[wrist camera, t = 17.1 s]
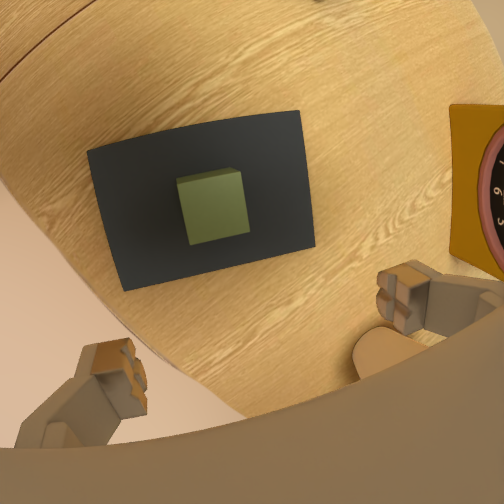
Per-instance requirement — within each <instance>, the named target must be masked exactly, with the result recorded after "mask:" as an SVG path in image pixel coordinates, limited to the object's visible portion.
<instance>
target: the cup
mask: <svg viewBox="0 0 504 504" xmlns="http://www.w3.org/2000/svg"><path fill="white" fill-rule="evenodd" d="M428 348H430V347H428V346H426V345H424V344H422V343H419V342H417V341H415V340H413V339H411V338H408V337H406V336H404V335H402V334H400V333H398V332H395V331H393V330H391V329H389V328H387V327H376V328H374V329H371V330H370V331H368V332H367V333H365V334H364V335H363V336H362V337H361V338H360V339H359V341H358V342H357V343H356V345H355V347H354V349H353V353H352V359H353V362H354V364H355V367H356V370H357V372H358V375H359V377H360V380H361V379H364V378H366V377H368V376H371V375H373V374H375V373H378V372H380V371H382V370H384V369H387V368H389V367H391V366H393V365H395V364H397V363H400V362H402V361H404V360H406V359H408V358H410V357H412V356H414V355H416V354H418V353H420V352H422V351H424V350H426V349H428Z"/></svg>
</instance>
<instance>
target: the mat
mask: <svg viewBox="0 0 504 504" xmlns="http://www.w3.org/2000/svg"><path fill="white" fill-rule="evenodd" d="M87 156H88V161H89V166H90V171H91V175H92V180H93V184H94V189H95V193H96V197H97V201H98V205H99V209H100V213H101V217H102V221H103V224H104V228H105V232H106V235H107V239H108V242H109V246H110V249H111V253H112V256H113V259H114V262H115V266H116V269H117V272H118V275H119V278H120V281H121V284H122V287H123V290H124V292H125V291H129V290H134V289H138V288H142V287H147V286H151V285H155V284H160V283H164V282H168V281H173V280H177V279H181V278H186V277H190V276H194V275H199V274H203V273H207V272H211V271H216V270H220V269H224V268H228V267H233V266H237V265H241V264H245V263H250V262H254V261H258V260H262V259H266V258H271V257H275V256H279V255H283V254H287V253H291V252H296V251H300V250H304V249H308V248H312V247H315V236H314V226H313V215H312V205H311V196H310V187H309V178H308V170H307V162H306V154H305V146H304V139H303V131H302V124H301V117H300V111H299V110H295V111H285V112H275V113H267V114H259V115H251V116H244V117H237V118H230V119H224V120H218V121H212V122H206V123H200V124H195V125H190V126H185V127H180V128H175V129H170V130H166V131H161V132H157V133H152V134H148V135H144V136H140V137H136V138H132V139H128V140H124V141H120V142H116V143H113V144H109V145H105V146H102V147H98V148H95V149H92V150H88V151H87ZM229 167H231V168H233V169H236V170H238V171H240V172H241V177H242V184H243V190H244V196H245V202H246V208H247V215H248V221H249V227H250V232H247V233H242V234H238V235H233V236H229V237H224V238H220V239H216V240H211V241H207V242H202V243H198V244H194V245H190V244H189V239H188V235H187V230H186V226H185V221H184V217H183V212H182V207H181V202H180V198H179V193H178V188H177V181H176V178H180V177H184V176H189V175H194V174H199V173H204V172H208V171H214V170H219V169H224V168H229Z"/></svg>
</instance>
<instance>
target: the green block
mask: <svg viewBox="0 0 504 504" xmlns="http://www.w3.org/2000/svg"><path fill="white" fill-rule="evenodd" d="M176 181H177V188H178V193H179V198H180V202H181V207H182V212H183V217H184V221H185V226H186V230H187V235H188V239H189V244H190V245H194V244H198V243H202V242H207V241H211V240H216V239H220V238H224V237H229V236H233V235H238V234H242V233H247V232H250V227H249V221H248V215H247V208H246V202H245V196H244V190H243V184H242V177H241V172H240V171H238V170H236V169H233V168H231V167H229V168H224V169H219V170H214V171H208V172H204V173H199V174H194V175H189V176H184V177H180V178H176Z"/></svg>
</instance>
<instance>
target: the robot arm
mask: <svg viewBox="0 0 504 504" xmlns="http://www.w3.org/2000/svg"><path fill="white" fill-rule="evenodd" d="M377 285H378V286H379V287H380V290H379V291H378V293H377V295H376V304H377V308H378V311H379V313H380V314H381V316H382V317H383V318H384V319H385V320H389V321H393V327H395V328H396V329H397V330H398V331H399V332H400V333H401V334H403V335H404V336H406V335H409V334H411V333H413V332H416V331H418V330H420V329H422V328H424V329H425V330H428V331H431V332H434V333H436V334H439V335H442V336H445V337H448V338H447V339H445V340H443V341H441V342H439V343H437V344H435V345H434V346H432V347H430V348H428V349H426V350H424V351H422V352H420V353H418V354H416V355H414V356H412V357H410V358H408V359H406V360H404V361H402V362H400V363H397V364H395V365H393V366H391V367H389V368H387V369H384V370H382V371H380V372H378V373H375V374H373V375H371V376H368V377H366V378H364V379H361V380H359V381H357V382H354V383H352V384H349V385H347V386H344V387H342V388H339V389H337V390H334V391H331V392H329V393H326V394H323V395H321V396H318V397H315V398H312V399H309V400H306V401H304V402H301V403H298V404H295V405H292V406H289V407H285V408H282V409H279V410H276V411H273V412H269V413H266V414H262V415H259V416H255V417H252V418H248V419H245V420H241V421H237V422H233V423H230V424H225V425H221V426H217V427H213V428H208V429H204V430H199V431H195V432H190V433H184V434H179V435H174V436H169V437H163V438H157V439H151V440H144V441H137V442H129V443H121V444H113V445H107V443H108V441H109V440H110V438H111V437H112V435H113V433H114V432H115V430H116V429H117V427H118V426H119V424H120V422H121V420H123V419H128V418H134V417H139V416H144V415H147V398H146V396H145V394H144V392H145V391H146V390H147V379H146V374H145V371H144V367H143V365H142V363H141V360H139V359H138V358H136V357H135V346H134V344H133V342H132V340H131V339H130V338H124V339H118V340H112V341H107V342H101V343H95V344H90V345H86V346H84V347H83V349H82V352H81V356H80V359H79V362H78V365H77V369H76V372H75V375H74V378H71V379H69V380H67V381H66V382H65V383H64V384H63V385H62V386H61V387H60V388H59V389H58V390H56V391H55V392H54V393H53V394H52V395H51V396H50V397H49V398H48V399H47V400H46V401H45V402H44V403H43V404H42V405H40V406H39V407H38V408H37V409H36V410H35V411H34V412H33V413H32V414H31V415H30V416H29V417H28V418H27V419H25V421H24V422H22V424H21V427H20V430H19V434H18V437H17V440H16V443H15V446H14V448H0V504H504V282H501V281H494V280H487V279H480V278H473V277H465V276H458V275H451V274H445V275H443V274H441V273H439V272H437V271H435V270H434V269H432V268H430V267H428V266H426V265H425V264H423V263H421V262H419V261H417V260H410V261H407V262H405V263H402V264H400V265H397V266H394V267H391V268H389V269H386V270H383V271H380V272H379V273H378V275H377Z"/></svg>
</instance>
